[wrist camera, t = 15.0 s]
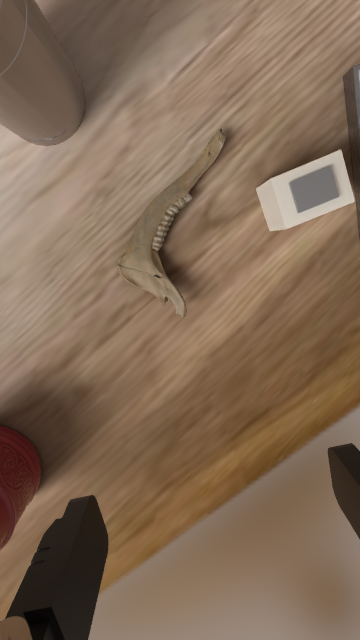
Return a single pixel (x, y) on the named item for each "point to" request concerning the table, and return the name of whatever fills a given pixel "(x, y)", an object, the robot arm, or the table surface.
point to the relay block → (306, 192)
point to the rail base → (354, 127)
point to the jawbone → (163, 232)
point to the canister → (16, 479)
